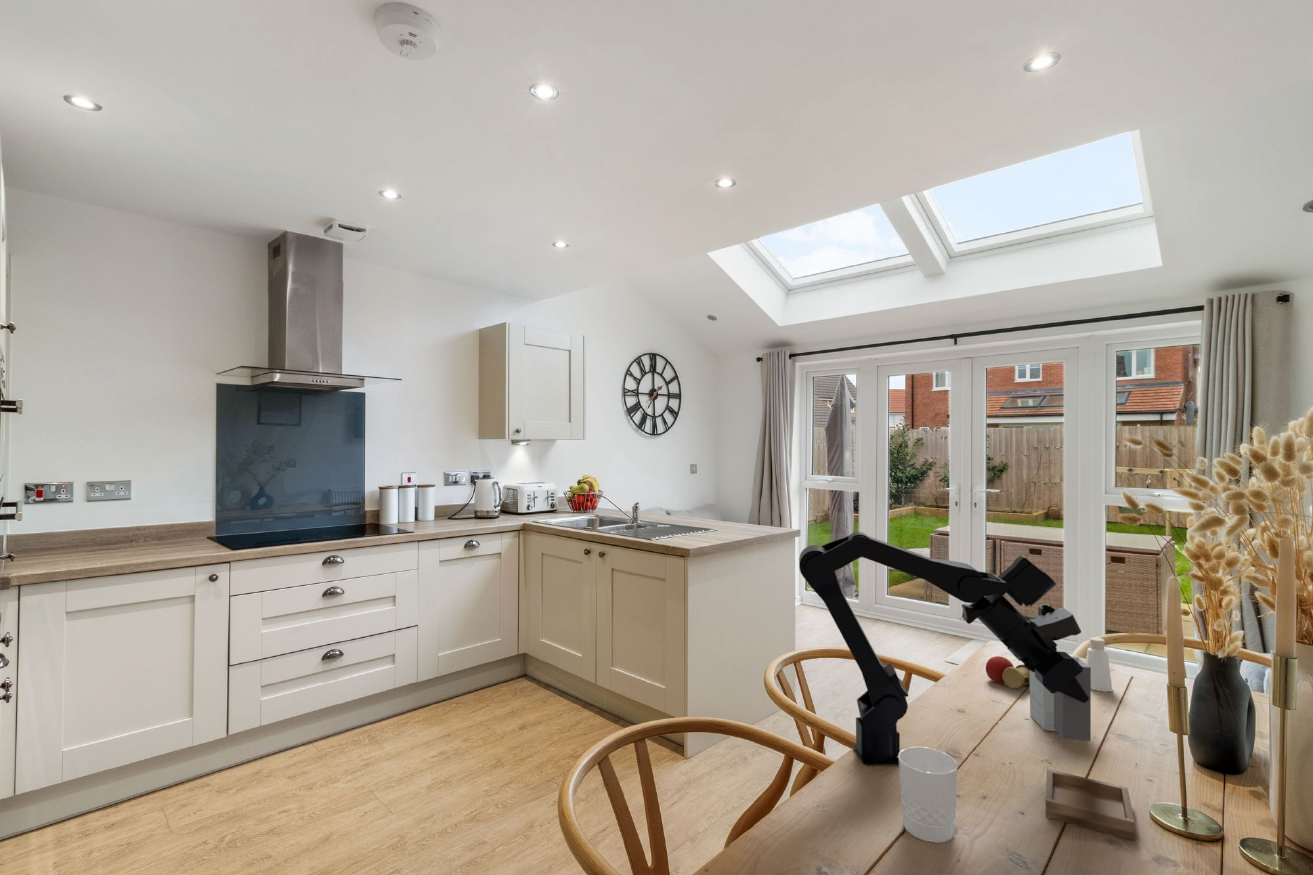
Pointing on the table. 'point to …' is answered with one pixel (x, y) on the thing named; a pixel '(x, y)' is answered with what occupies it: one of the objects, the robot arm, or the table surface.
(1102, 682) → the pepper shaker
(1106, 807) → the wooden tray
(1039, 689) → the supplement box
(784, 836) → the table surface
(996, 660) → the kendama
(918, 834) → the white cup
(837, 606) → the robot arm
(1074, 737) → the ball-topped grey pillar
